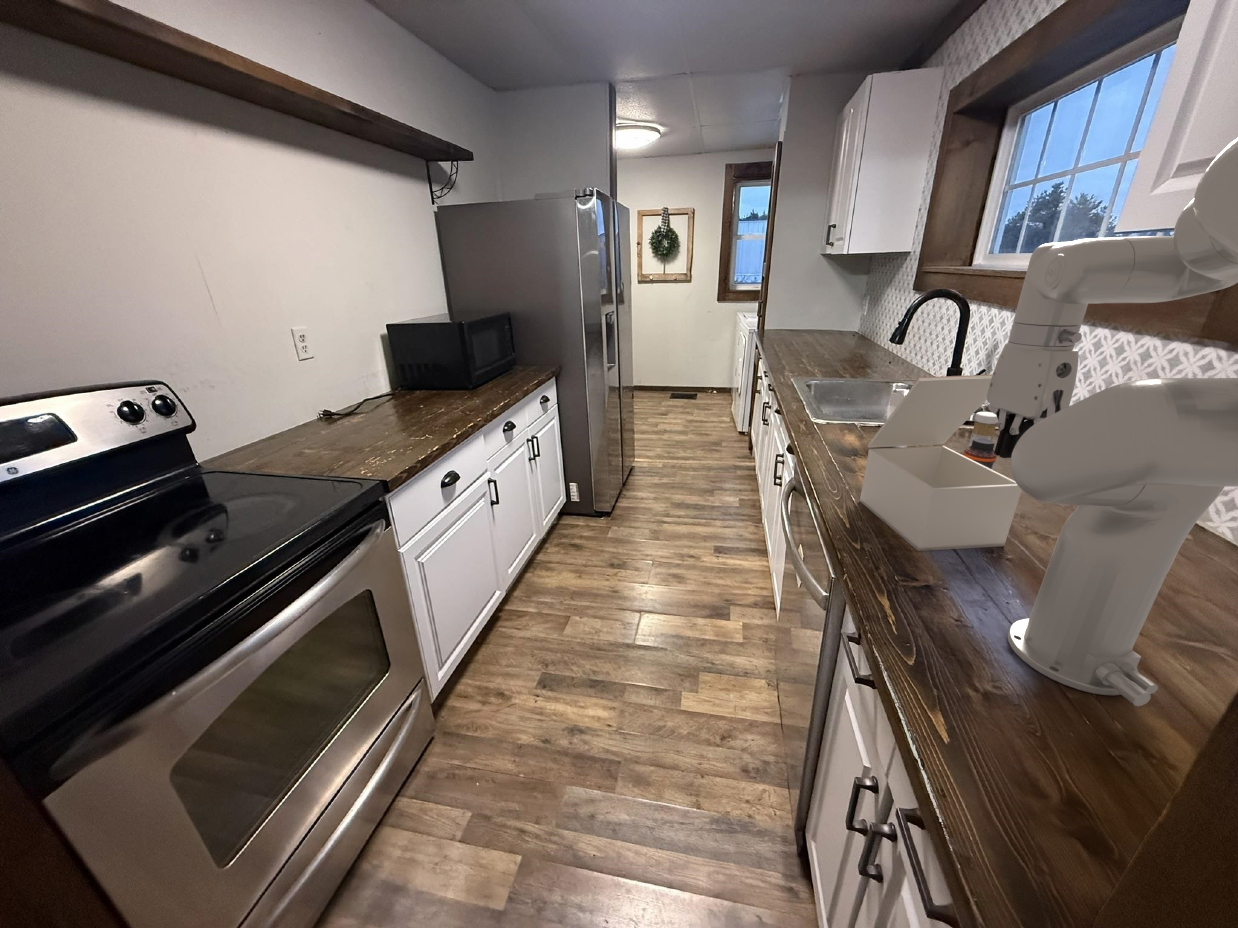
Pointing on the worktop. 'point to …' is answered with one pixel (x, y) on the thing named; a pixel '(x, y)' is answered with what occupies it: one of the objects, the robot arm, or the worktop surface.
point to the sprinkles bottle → (984, 426)
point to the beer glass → (896, 403)
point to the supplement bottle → (982, 452)
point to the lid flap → (933, 410)
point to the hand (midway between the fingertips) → (1007, 455)
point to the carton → (939, 497)
